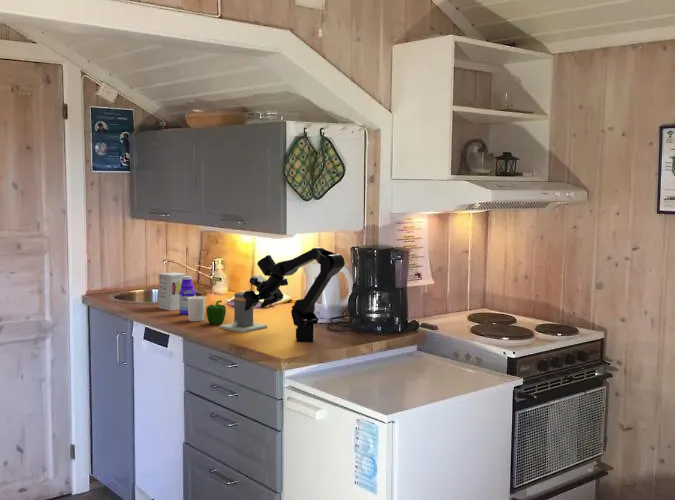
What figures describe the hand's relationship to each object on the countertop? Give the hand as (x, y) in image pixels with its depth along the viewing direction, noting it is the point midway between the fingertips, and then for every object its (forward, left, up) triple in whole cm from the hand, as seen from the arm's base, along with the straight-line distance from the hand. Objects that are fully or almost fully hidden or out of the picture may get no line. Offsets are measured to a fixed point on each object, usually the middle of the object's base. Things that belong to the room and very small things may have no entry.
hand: (253, 308), depth 307 cm
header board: (+5, -4, -9) cm, 11 cm away
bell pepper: (+17, -11, -9) cm, 23 cm away
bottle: (+34, -32, -9) cm, 48 cm away
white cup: (+27, -18, -9) cm, 34 cm away
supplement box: (+44, -45, -9) cm, 64 cm away
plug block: (+5, -3, -8) cm, 10 cm away
